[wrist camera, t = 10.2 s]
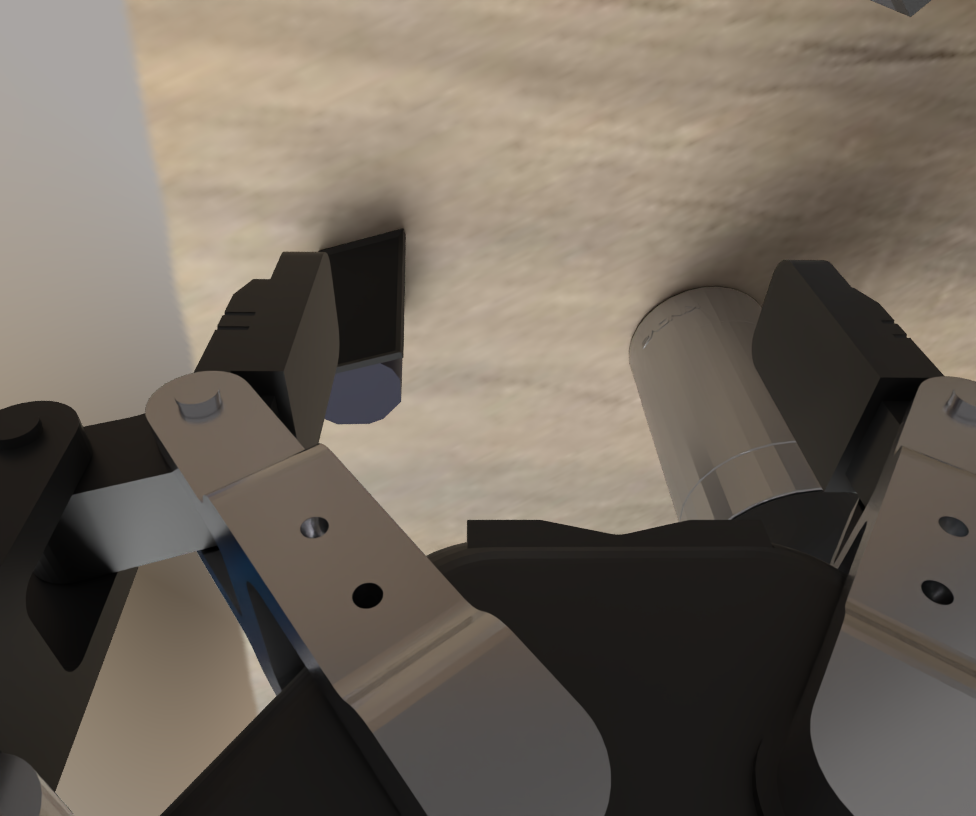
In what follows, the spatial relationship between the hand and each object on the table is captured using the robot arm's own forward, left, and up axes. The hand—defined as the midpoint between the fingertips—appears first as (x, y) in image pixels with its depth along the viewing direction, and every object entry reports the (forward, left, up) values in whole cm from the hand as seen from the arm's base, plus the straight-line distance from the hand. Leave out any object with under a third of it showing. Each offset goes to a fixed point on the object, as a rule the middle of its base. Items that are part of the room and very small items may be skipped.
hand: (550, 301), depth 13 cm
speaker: (-6, +16, -27) cm, 32 cm away
